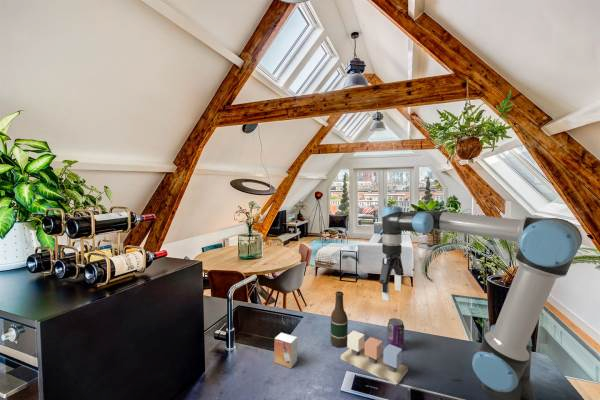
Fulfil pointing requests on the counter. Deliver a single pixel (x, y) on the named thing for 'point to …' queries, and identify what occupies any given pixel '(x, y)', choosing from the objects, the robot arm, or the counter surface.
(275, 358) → the small box
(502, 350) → the robot arm
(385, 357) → the light blue cube
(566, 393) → the counter surface
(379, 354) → the salmon orange cube
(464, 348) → the counter surface
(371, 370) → the board
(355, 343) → the cream cube
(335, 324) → the beer bottle
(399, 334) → the beverage can
